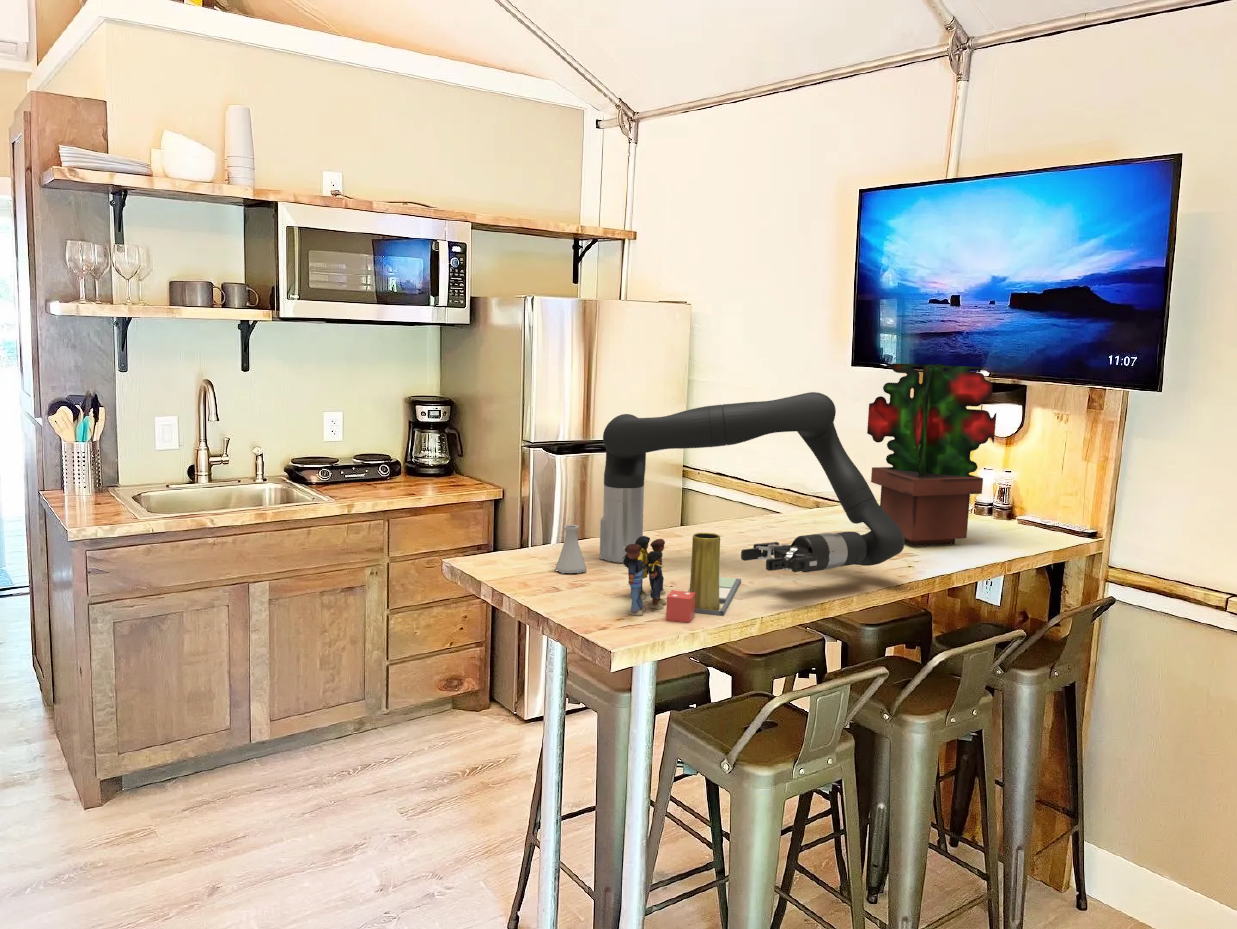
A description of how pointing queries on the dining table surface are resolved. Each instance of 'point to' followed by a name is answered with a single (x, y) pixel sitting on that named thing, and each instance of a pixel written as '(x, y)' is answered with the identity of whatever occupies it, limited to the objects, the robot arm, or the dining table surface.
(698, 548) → the vase
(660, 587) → the doll family
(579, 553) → the flask
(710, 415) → the robot arm
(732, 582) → the game board
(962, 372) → the potted plant
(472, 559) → the dining table surface
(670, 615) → the red die
